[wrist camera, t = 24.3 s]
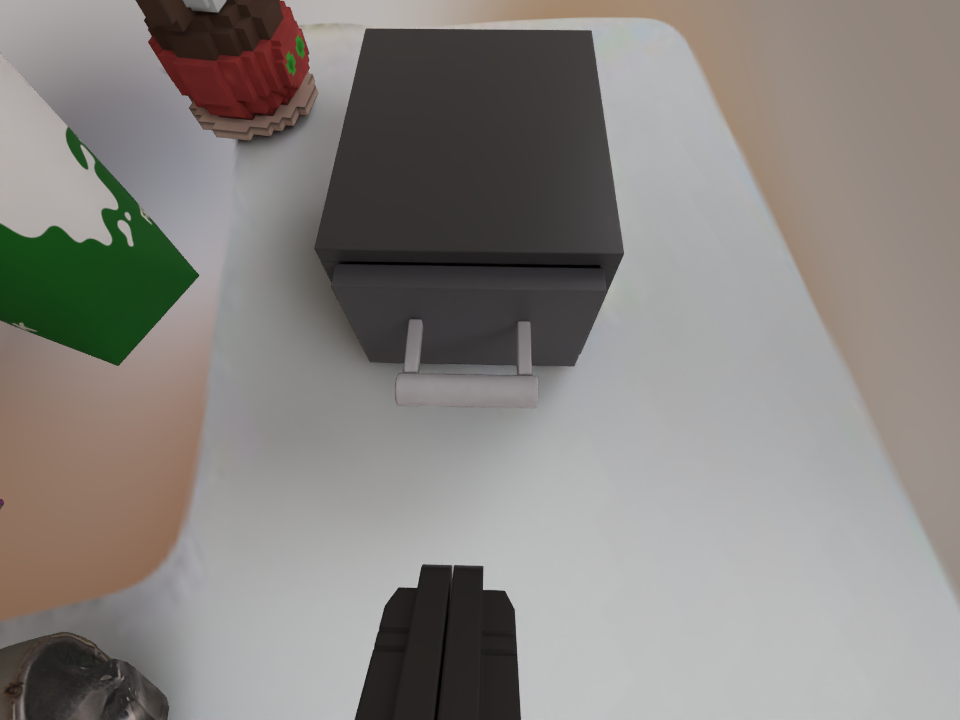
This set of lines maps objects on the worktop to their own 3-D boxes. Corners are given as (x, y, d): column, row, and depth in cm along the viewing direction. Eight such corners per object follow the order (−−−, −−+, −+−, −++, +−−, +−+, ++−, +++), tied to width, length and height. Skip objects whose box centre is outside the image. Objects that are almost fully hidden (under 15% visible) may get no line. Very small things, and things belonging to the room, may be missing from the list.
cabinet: (580, 354, 26) (624, 253, 18) (365, 350, 27) (314, 249, 18) (564, 165, 33) (591, 29, 25) (394, 163, 33) (365, 28, 25)
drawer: (579, 438, 23) (618, 383, 17) (359, 433, 23) (311, 377, 17) (560, 178, 31) (580, 71, 25) (396, 175, 32) (374, 69, 25)
